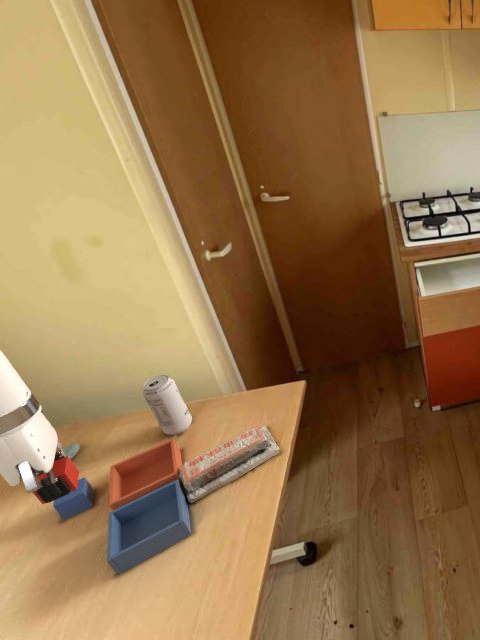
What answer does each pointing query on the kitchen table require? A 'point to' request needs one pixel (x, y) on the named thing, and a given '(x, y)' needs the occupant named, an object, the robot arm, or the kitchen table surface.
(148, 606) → the kitchen table surface
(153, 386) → the energy drink can
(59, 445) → the pacifier
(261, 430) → the packaged product
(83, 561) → the kitchen table surface
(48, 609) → the kitchen table surface
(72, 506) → the blue block
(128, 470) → the terracotta bin
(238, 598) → the kitchen table surface
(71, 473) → the red block
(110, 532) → the blue bin
